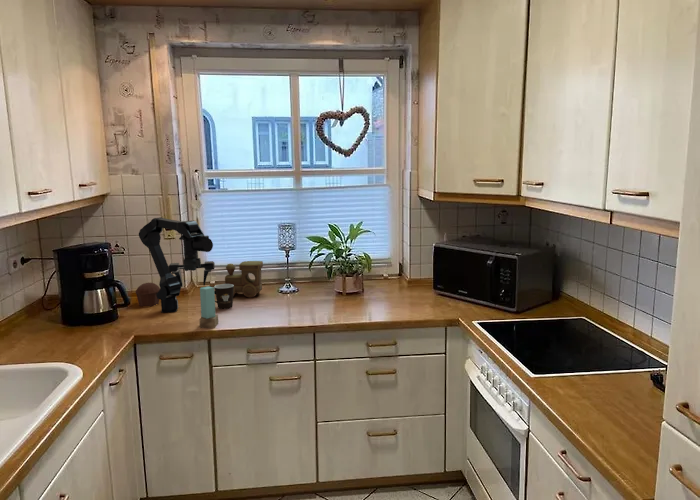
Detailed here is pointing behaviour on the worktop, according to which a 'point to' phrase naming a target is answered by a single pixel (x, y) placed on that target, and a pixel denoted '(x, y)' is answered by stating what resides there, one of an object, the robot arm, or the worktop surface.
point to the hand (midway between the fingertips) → (193, 286)
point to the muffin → (147, 294)
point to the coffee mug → (224, 295)
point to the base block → (209, 322)
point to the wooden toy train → (245, 278)
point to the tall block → (207, 302)
